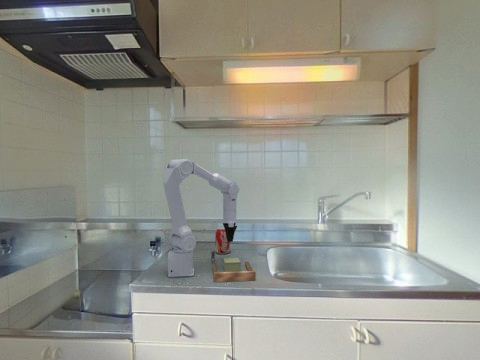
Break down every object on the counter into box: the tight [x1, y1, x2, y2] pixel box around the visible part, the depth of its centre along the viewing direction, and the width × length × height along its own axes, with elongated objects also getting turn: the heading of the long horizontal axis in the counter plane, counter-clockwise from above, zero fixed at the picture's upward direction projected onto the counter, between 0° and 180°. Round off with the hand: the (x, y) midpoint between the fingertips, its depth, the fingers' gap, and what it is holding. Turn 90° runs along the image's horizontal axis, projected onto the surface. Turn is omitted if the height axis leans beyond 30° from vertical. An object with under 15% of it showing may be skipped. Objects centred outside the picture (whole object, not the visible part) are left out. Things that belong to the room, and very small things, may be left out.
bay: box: [212, 261, 257, 283], centre depth 121 cm, size 15×18×3 cm
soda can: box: [214, 226, 231, 255], centre depth 149 cm, size 7×7×12 cm
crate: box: [222, 256, 242, 272], centre depth 125 cm, size 6×7×4 cm
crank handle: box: [210, 250, 216, 264], centre depth 137 cm, size 8×1×3 cm, turn 7°
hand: (229, 240), depth 135 cm, fingers open, 4 cm apart
